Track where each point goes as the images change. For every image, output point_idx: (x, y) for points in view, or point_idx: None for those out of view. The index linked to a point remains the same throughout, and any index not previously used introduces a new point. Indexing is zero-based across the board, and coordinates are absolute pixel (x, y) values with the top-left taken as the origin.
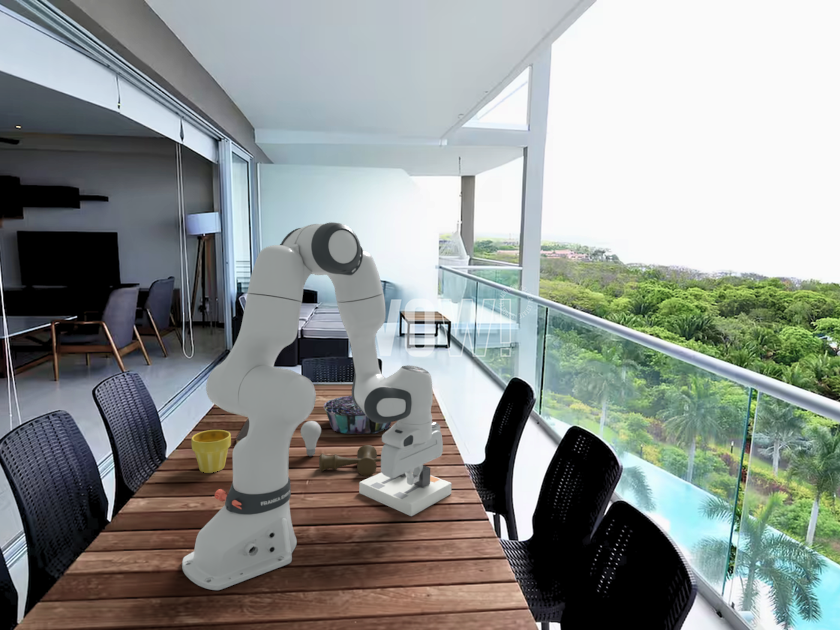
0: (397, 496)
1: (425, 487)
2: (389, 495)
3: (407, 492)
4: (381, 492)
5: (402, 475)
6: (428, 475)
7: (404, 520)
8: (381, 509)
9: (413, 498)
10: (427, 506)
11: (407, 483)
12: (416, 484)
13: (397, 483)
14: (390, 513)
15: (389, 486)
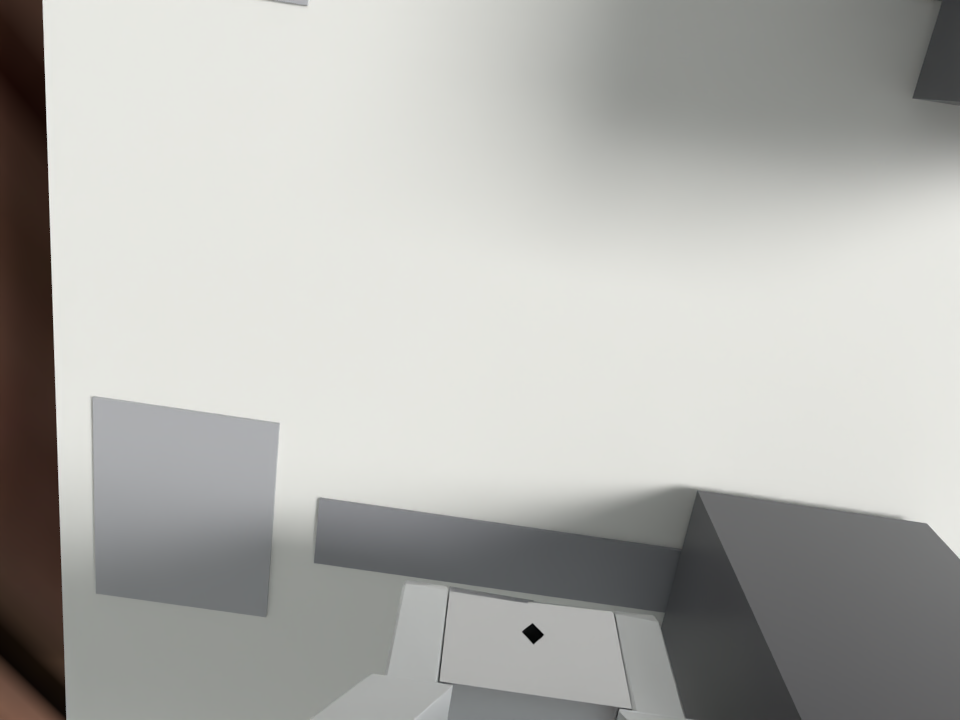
0: (104, 491)
1: None
2: (62, 330)
3: (348, 549)
4: (56, 108)
5: (939, 97)
6: None
7: (19, 627)
8: (6, 229)
9: (241, 714)
10: None
11: (404, 585)
12: (685, 560)
13: (573, 177)
14: (18, 402)
15: (346, 111)
